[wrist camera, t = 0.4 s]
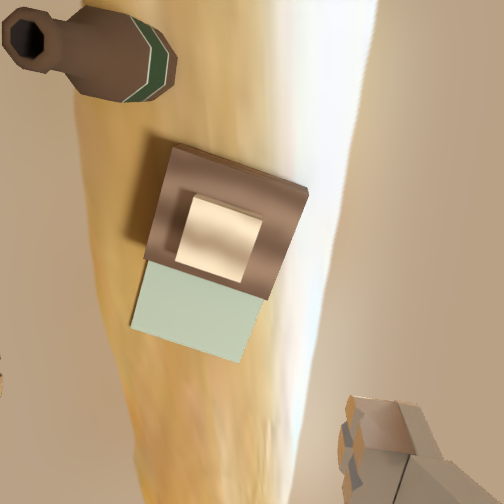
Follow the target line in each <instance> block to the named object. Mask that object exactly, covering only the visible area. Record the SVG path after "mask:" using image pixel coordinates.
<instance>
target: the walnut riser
mask: <svg viewBox="0 0 504 504" xmlns="http://www.w3.org/2000/svg"><path fill="white" fill-rule="evenodd" d="M197 193H199V194H202V195H205V196H207V197H210V198H213V199H216V200H219V201H222V202H225V203H228V204H231V205H233V206H236V207H239V208H242V209H245V210H248V211H251V212H254V213H256V214H259V215H262V216H263V222H262V224H261V227H260V230H259V233H258V235H257V238H256V241H255V244H254V246H253V249H252V252H251V255H250V258H249V260H248V263H247V266H246V269H245V271H244V274H243V277H242V280H241V282H240V283H239V282H236V281H233V280H230V279H227V278H224V277H221V276H218V275H215V274H212V273H209V272H206V271H203V270H200V269H198V268H195V267H192V266H189V265H186V264H183V263H180V262H177V261H175V259H176V255H177V252H178V249H179V245H180V242H181V238H182V235H183V232H184V228H185V225H186V221H187V218H188V215H189V211H190V208H191V204H192V201H193V198H194V196H195V195H196V194H197ZM308 197H309V193H308V189H307V188H306V187H304V186H301V185H298V184H295V183H292V182H289V181H287V180H284V179H281V178H278V177H275V176H272V175H270V174H267V173H264V172H261V171H258V170H255V169H253V168H250V167H247V166H244V165H241V164H238V163H235V162H233V161H230V160H227V159H224V158H221V157H218V156H216V155H213V154H210V153H207V152H204V151H201V150H199V149H196V148H193V147H190V146H187V145H184V144H182V143H180V144H178V145H176V146H174V147H172V151H171V155H170V159H169V162H168V166H167V170H166V174H165V178H164V181H163V185H162V189H161V193H160V197H159V200H158V204H157V208H156V212H155V216H154V219H153V223H152V227H151V231H150V235H149V238H148V242H147V246H146V250H145V254H144V257H143V259H146V260H149V261H152V262H155V263H158V264H161V265H164V266H166V267H169V268H172V269H175V270H178V271H181V272H184V273H187V274H190V275H193V276H196V277H199V278H202V279H205V280H208V281H211V282H214V283H217V284H220V285H223V286H226V287H229V288H232V289H235V290H238V291H241V292H244V293H247V294H250V295H253V296H256V297H259V298H262V299H265V300H267V301H268V298H269V296H270V293H271V290H272V288H273V285H274V283H275V280H276V278H277V275H278V273H279V270H280V268H281V265H282V263H283V260H284V258H285V255H286V252H287V250H288V247H289V245H290V242H291V240H292V237H293V235H294V232H295V230H296V227H297V225H298V222H299V219H300V217H301V214H302V212H303V209H304V207H305V204H306V202H307V199H308Z"/></svg>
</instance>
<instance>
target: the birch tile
mask: <svg viewBox="0 0 504 504" xmlns="http://www.w3.org/2000/svg"><path fill="white" fill-rule="evenodd" d="M262 222H263V216H262V215H259V214H256V213H254V212H251V211H248V210H245V209H242V208H239V207H236V206H233V205H231V204H228V203H225V202H222V201H219V200H216V199H213V198H210V197H207V196H205V195H202V194H199V193H197V194H196V195H195V196H194V198H193V201H192V204H191V208H190V211H189V215H188V218H187V221H186V225H185V228H184V232H183V235H182V238H181V242H180V245H179V249H178V252H177V255H176V259H175V261H177V262H180V263H183V264H186V265H189V266H192V267H195V268H198V269H200V270H203V271H206V272H209V273H212V274H215V275H218V276H221V277H224V278H227V279H230V280H233V281H236V282H239V283H240V282H241V280H242V277H243V274H244V271H245V269H246V266H247V263H248V260H249V258H250V255H251V252H252V249H253V246H254V244H255V241H256V238H257V235H258V233H259V230H260V227H261V224H262Z"/></svg>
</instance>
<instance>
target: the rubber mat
mask: <svg viewBox="0 0 504 504" xmlns="http://www.w3.org/2000/svg"><path fill="white" fill-rule="evenodd" d="M263 301H264V299H262V298H259V297H256V296H253V295H250V294H247V293H244V292H241V291H238V290H235V289H232V288H229V287H226V286H223V285H220V284H217V283H214V282H211V281H208V280H205V279H202V278H199V277H196V276H193V275H190V274H187V273H184V272H181V271H178V270H175V269H172V268H169V267H166V266H164V265H161V264H158V263H155V262H152V261H148V264H147V268H146V272H145V276H144V279H143V283H142V287H141V290H140V294H139V298H138V302H137V305H136V309H135V313H134V316H133V320H132V324H131V328H132V329H135V330H138V331H141V332H144V333H148V334H151V335H154V336H157V337H160V338H163V339H166V340H169V341H172V342H175V343H178V344H181V345H184V346H187V347H190V348H193V349H196V350H199V351H202V352H205V353H209V354H212V355H215V356H218V357H221V358H224V359H227V360H230V361H233V362H236V363H239V362H240V360H241V357H242V355H243V352H244V350H245V347H246V344H247V342H248V339H249V337H250V334H251V332H252V329H253V327H254V324H255V321H256V319H257V316H258V314H259V311H260V309H261V306H262V304H263Z"/></svg>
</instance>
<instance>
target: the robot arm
mask: <svg viewBox="0 0 504 504" xmlns="http://www.w3.org/2000/svg"><path fill="white" fill-rule="evenodd" d="M0 359H1V357H0ZM2 389H3V376H2V374H1V373H0V397H1V395H2ZM345 411H346V417H347V421H346V422H345V423H344V424H342V425H341V430H340V434H339V441H338V462H339V469H340V471H341V472H342V473H343V474H344V475H345V478H344V481H343V485H342V490H343V496H344V503H345V504H501V503H500V502H499V501H498V500H497V499H495V498H494V497H493V496H492V495H491V494H490V493H488V492H487V491H486V490H485V489H484V488H483V487H481V486H480V485H479V484H478V483H476V482H475V481H474V480H473V479H472V478H471V477H470V476H468V475H467V474H466V473H465V472H464V471H462V470H461V469H460V468H459V467H458V466H456V465H455V464H454V463H453V462H452V461H448V460H444V458H443V456H442V454H441V451H440V449H439V447H438V445H437V443H436V440H435V438H434V436H433V434H432V431H431V429H430V427H429V425H428V422H427V420H426V418H425V416H424V413H423V411H422V409H421V407H420V406H419V405H418V404H417V403H410V402H402V401H388V400H380V399H374V398H366V397H359V396H352V395H350V397H349V399H348V401H347V405H346V408H345Z"/></svg>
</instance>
